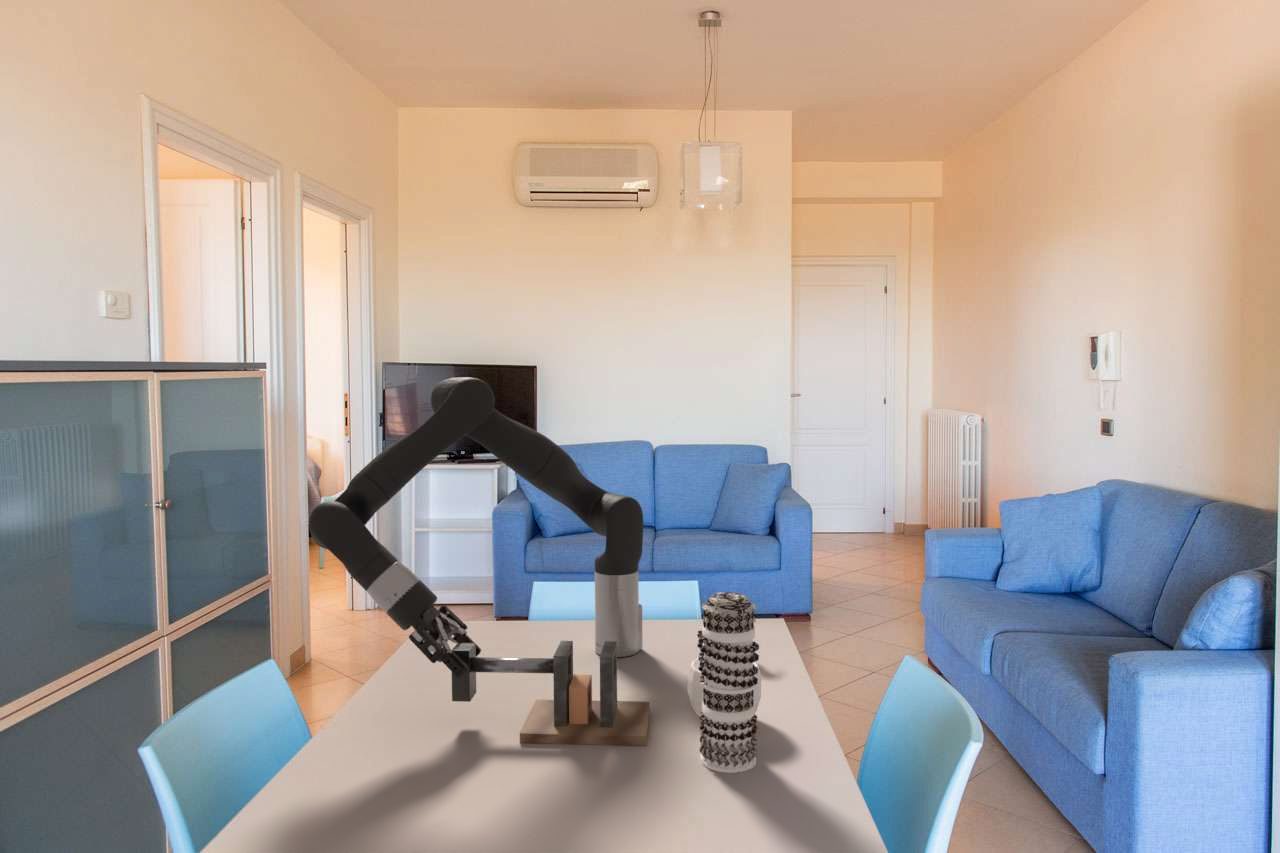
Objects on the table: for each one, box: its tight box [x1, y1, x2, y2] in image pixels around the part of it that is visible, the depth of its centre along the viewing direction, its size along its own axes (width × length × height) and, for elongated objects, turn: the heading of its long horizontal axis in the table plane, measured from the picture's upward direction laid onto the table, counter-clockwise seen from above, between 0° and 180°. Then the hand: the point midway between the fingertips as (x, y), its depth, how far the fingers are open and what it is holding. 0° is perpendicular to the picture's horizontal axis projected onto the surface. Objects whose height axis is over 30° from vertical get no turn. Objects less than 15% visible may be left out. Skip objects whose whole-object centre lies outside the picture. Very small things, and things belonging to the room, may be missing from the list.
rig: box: [519, 640, 651, 746], centre depth 137 cm, size 20×14×13 cm
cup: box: [687, 657, 762, 718], centre depth 139 cm, size 12×12×10 cm
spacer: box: [569, 673, 593, 724], centre depth 138 cm, size 3×6×6 cm, turn 177°
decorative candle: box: [696, 591, 760, 774], centre depth 124 cm, size 9×9×25 cm
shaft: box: [451, 642, 554, 703], centre depth 138 cm, size 18×4×8 cm, turn 86°
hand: (470, 663), depth 138 cm, fingers open, 8 cm apart
